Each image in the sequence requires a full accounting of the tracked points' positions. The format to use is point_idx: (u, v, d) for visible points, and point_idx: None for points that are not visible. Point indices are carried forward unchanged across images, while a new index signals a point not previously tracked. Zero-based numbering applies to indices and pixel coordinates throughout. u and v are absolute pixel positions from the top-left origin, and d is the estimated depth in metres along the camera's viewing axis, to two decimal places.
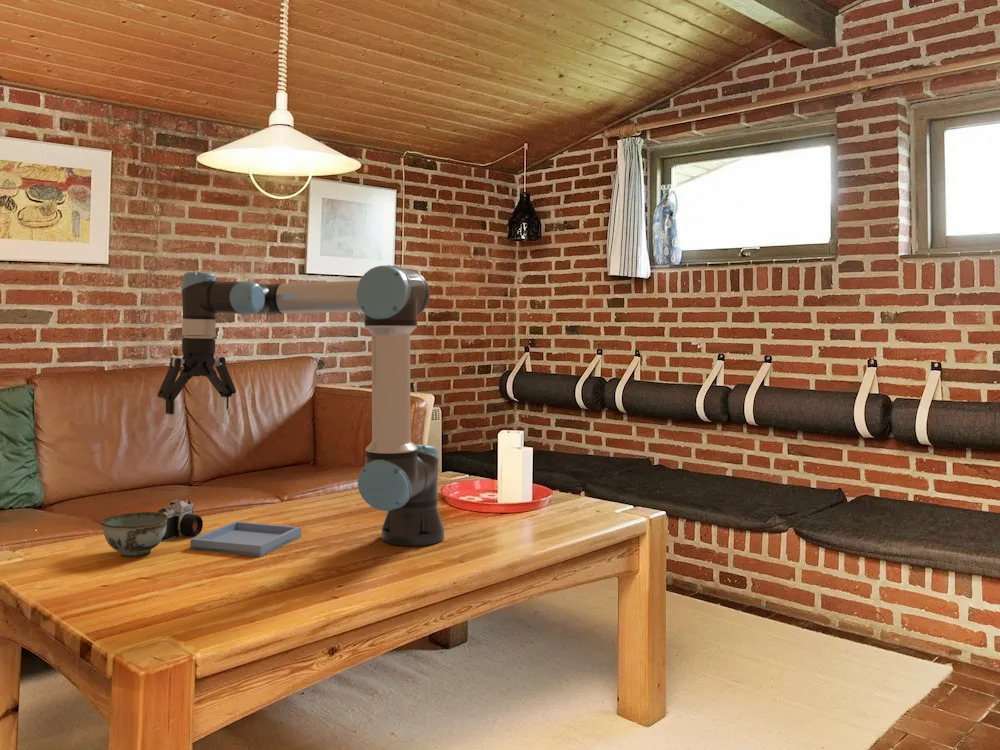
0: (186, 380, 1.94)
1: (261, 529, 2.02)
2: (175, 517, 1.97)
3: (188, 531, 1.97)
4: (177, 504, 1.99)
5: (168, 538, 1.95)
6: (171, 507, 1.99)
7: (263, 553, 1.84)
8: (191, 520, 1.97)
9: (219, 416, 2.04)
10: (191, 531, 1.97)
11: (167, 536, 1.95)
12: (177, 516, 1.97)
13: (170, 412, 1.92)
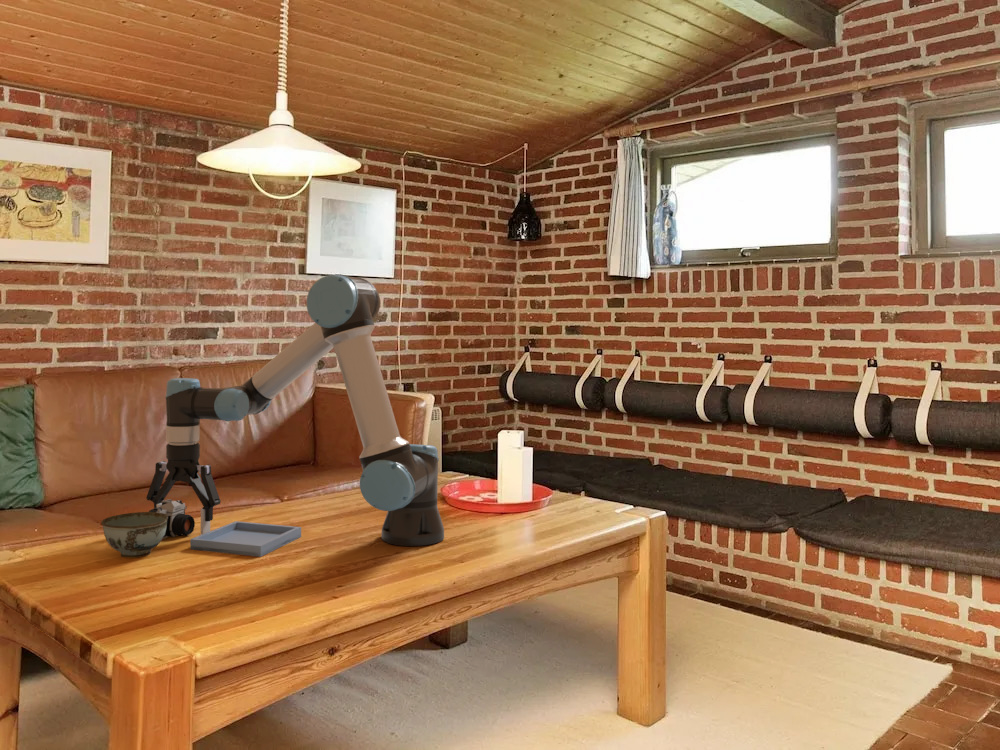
0: (166, 485, 1.99)
1: (261, 529, 2.02)
2: None
3: (180, 531, 1.97)
4: (169, 504, 1.99)
5: None
6: (163, 507, 1.99)
7: (263, 553, 1.84)
8: (183, 520, 1.97)
9: None
10: (183, 531, 1.97)
11: None
12: (169, 515, 1.97)
13: None
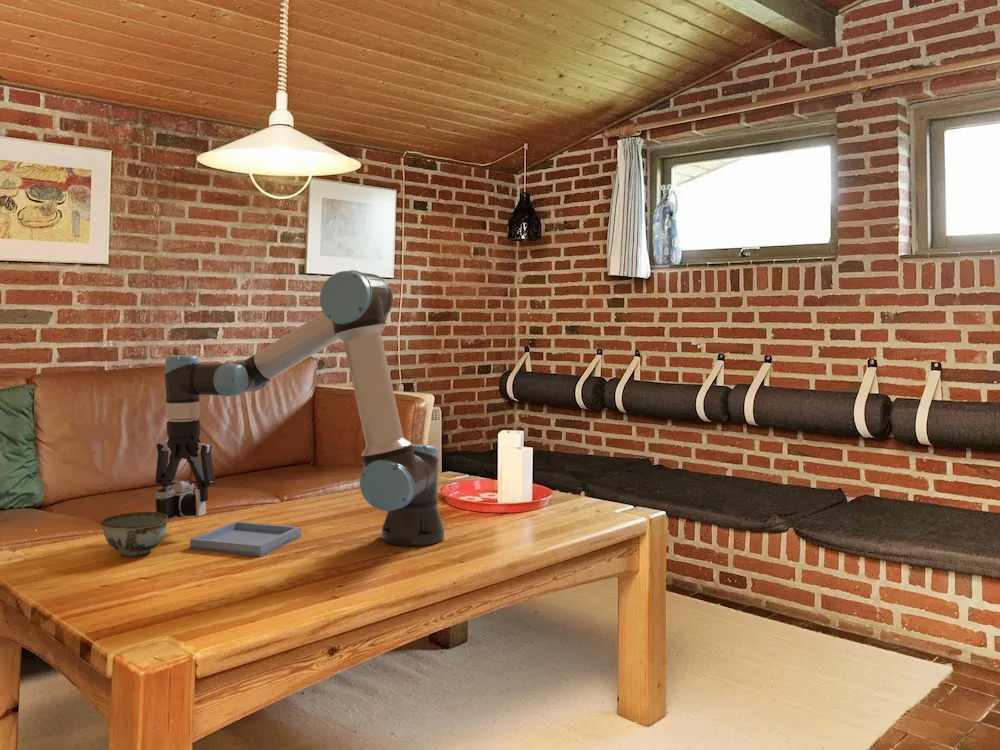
0: (171, 464, 1.98)
1: (261, 529, 2.02)
2: (175, 497, 1.96)
3: (189, 510, 1.96)
4: (177, 484, 1.97)
5: (169, 518, 1.94)
6: (172, 487, 1.98)
7: (263, 553, 1.84)
8: (192, 499, 1.96)
9: None
10: (192, 510, 1.96)
11: (168, 516, 1.94)
12: (178, 495, 1.96)
13: None
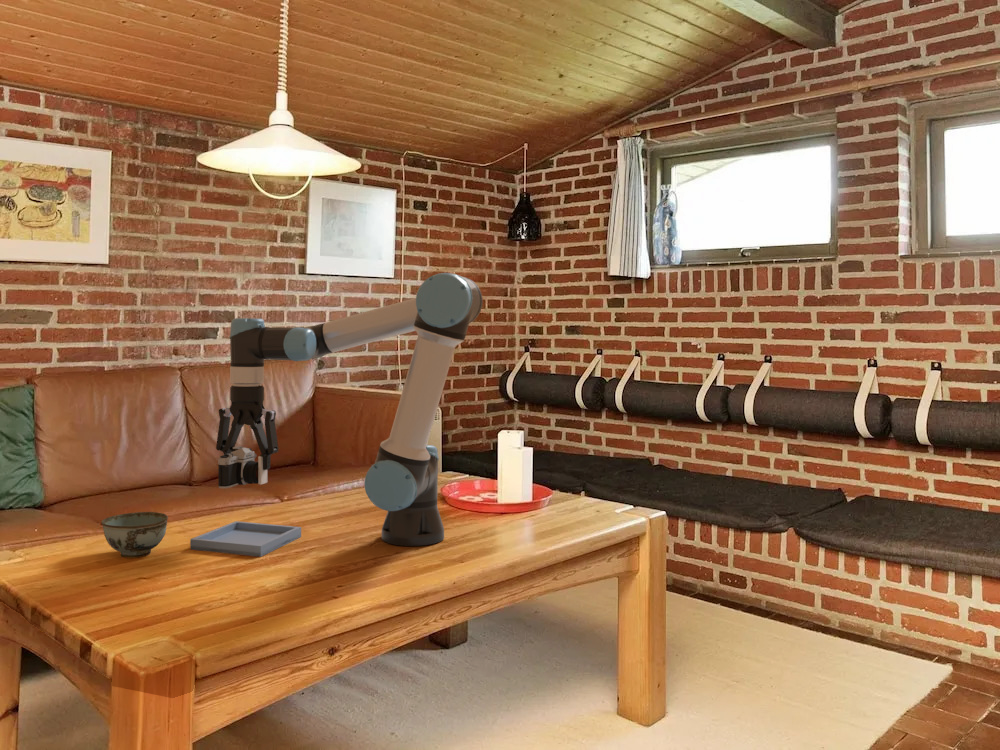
0: (233, 431, 1.92)
1: (261, 529, 2.02)
2: (238, 464, 1.90)
3: (251, 478, 1.89)
4: (240, 450, 1.91)
5: (231, 485, 1.88)
6: (233, 453, 1.91)
7: (263, 553, 1.84)
8: (254, 467, 1.90)
9: None
10: (254, 478, 1.90)
11: (230, 483, 1.88)
12: (240, 462, 1.90)
13: None
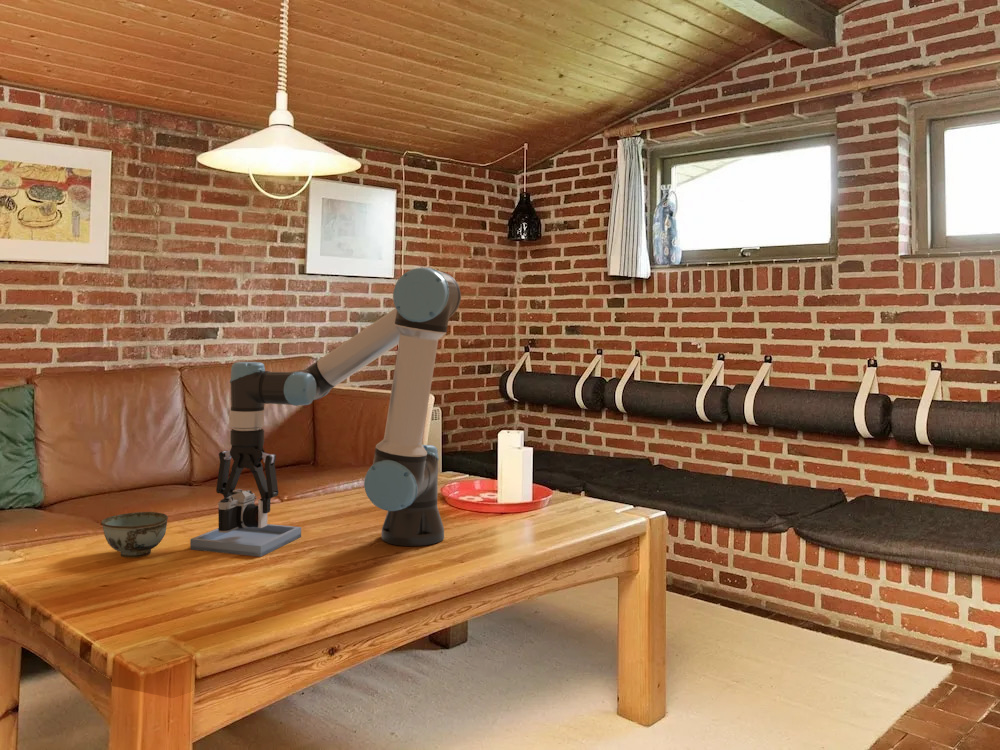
0: (233, 474, 1.92)
1: (261, 529, 2.02)
2: (238, 508, 1.91)
3: (251, 522, 1.90)
4: (240, 494, 1.92)
5: (231, 529, 1.89)
6: (233, 497, 1.92)
7: (263, 553, 1.84)
8: (254, 510, 1.91)
9: None
10: (254, 522, 1.90)
11: (230, 527, 1.88)
12: (240, 506, 1.91)
13: None
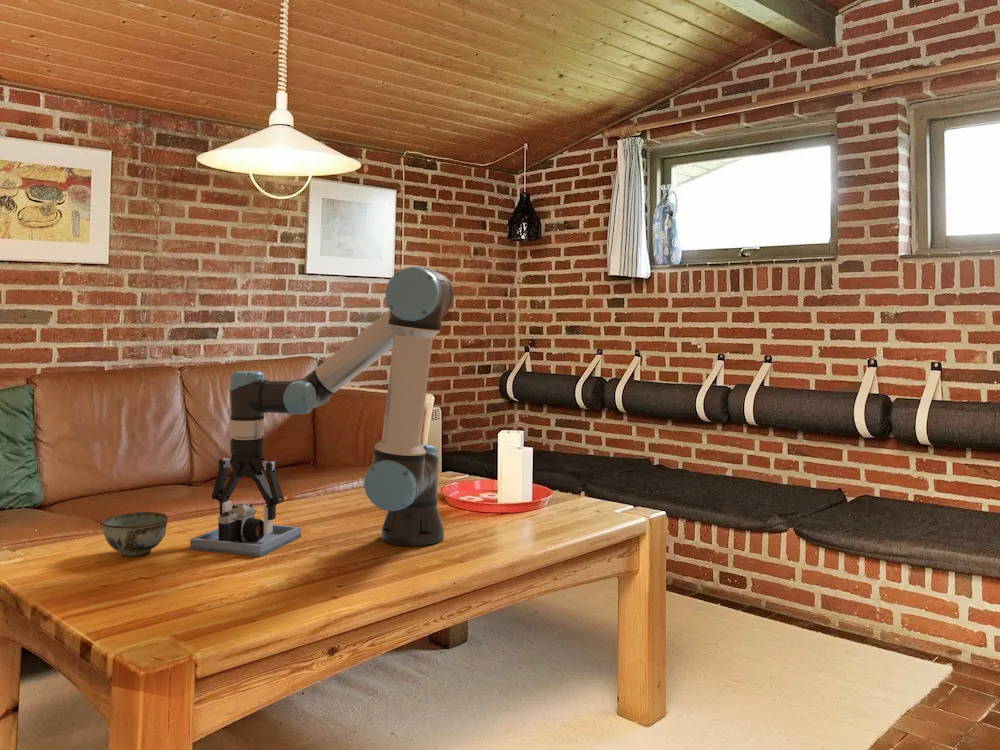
0: (231, 482, 1.93)
1: None
2: (238, 522, 1.91)
3: (251, 536, 1.90)
4: (240, 508, 1.92)
5: None
6: (233, 511, 1.92)
7: (263, 553, 1.84)
8: (254, 524, 1.91)
9: None
10: (254, 536, 1.90)
11: (230, 541, 1.88)
12: (240, 520, 1.91)
13: (220, 513, 1.95)
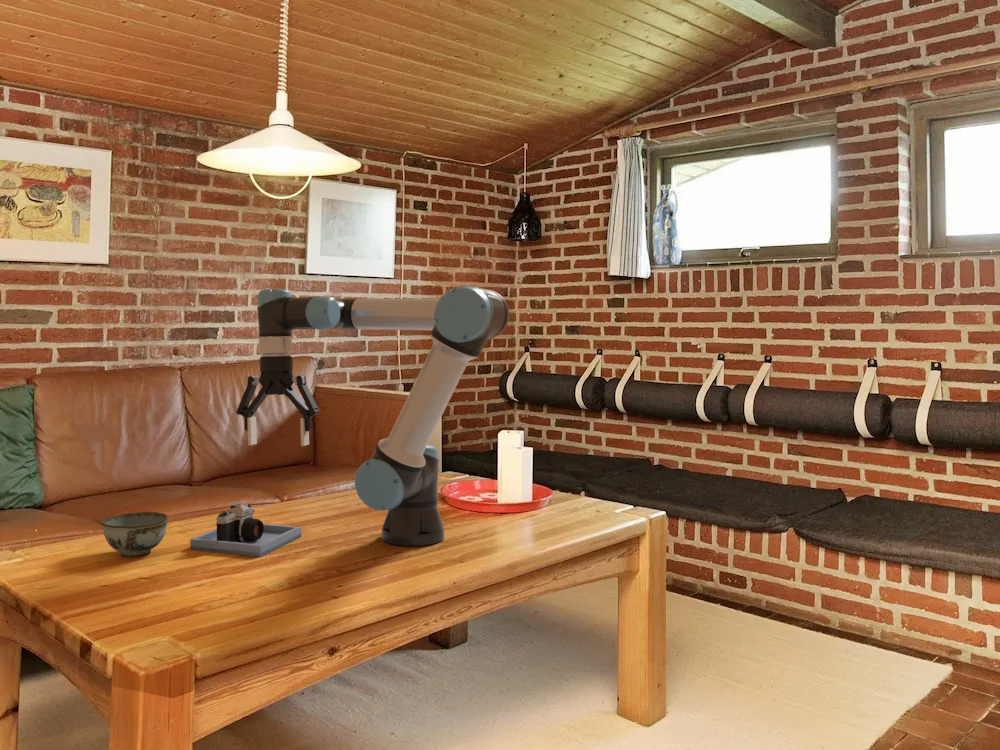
0: (258, 398, 1.95)
1: None
2: (236, 522, 1.91)
3: (249, 536, 1.90)
4: (238, 508, 1.92)
5: None
6: (231, 511, 1.92)
7: (263, 553, 1.84)
8: (252, 524, 1.91)
9: None
10: (252, 536, 1.90)
11: (228, 541, 1.88)
12: (238, 520, 1.91)
13: (246, 428, 1.97)
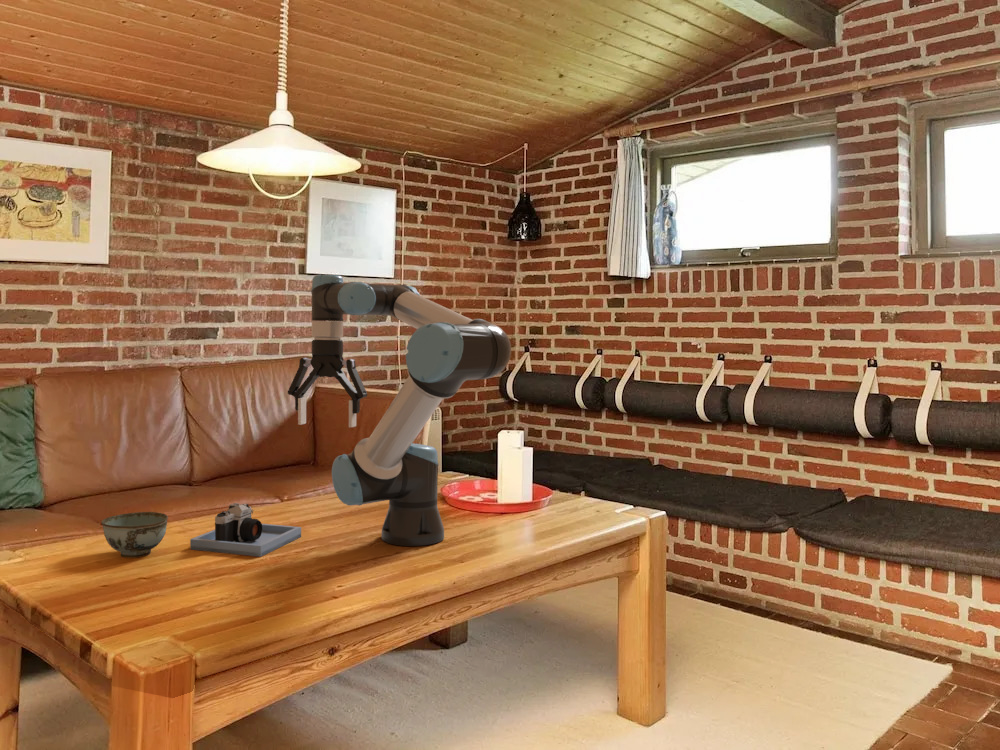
0: (309, 379, 2.02)
1: None
2: (234, 522, 1.91)
3: (248, 536, 1.90)
4: (236, 508, 1.92)
5: None
6: (230, 511, 1.92)
7: (263, 553, 1.84)
8: (251, 524, 1.91)
9: None
10: (251, 536, 1.90)
11: None
12: (237, 520, 1.91)
13: (296, 408, 2.04)
